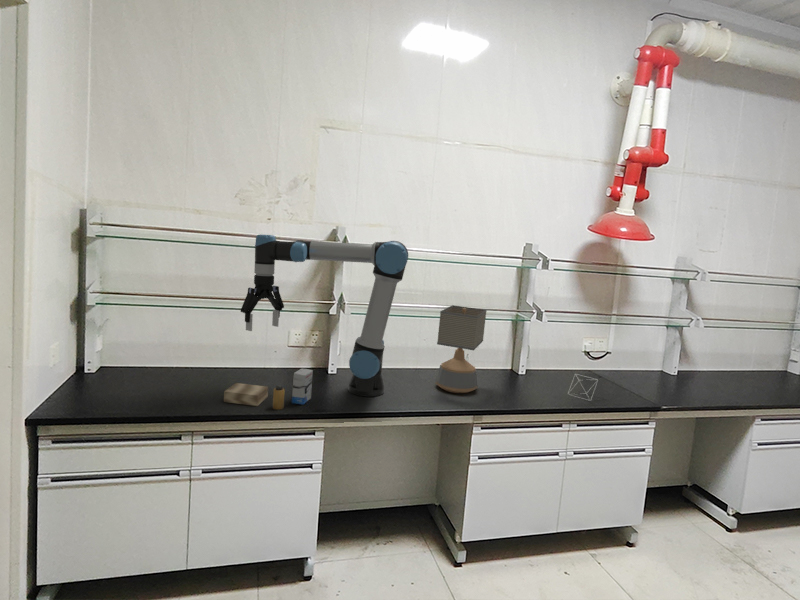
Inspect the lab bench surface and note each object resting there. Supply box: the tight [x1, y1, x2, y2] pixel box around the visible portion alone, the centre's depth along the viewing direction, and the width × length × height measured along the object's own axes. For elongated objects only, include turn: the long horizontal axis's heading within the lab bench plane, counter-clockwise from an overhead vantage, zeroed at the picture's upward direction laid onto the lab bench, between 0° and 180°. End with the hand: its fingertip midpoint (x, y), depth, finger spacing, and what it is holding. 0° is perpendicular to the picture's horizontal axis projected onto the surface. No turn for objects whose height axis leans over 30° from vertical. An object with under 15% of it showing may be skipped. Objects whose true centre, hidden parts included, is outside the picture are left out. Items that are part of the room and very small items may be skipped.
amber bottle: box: [272, 384, 285, 410], centre depth 199 cm, size 4×4×8 cm
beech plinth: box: [223, 382, 269, 407], centre depth 204 cm, size 13×11×4 cm
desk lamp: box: [435, 304, 487, 394], centre depth 239 cm, size 22×19×37 cm
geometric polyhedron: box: [567, 373, 599, 402], centre depth 247 cm, size 12×11×9 cm
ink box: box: [291, 368, 313, 405], centre depth 208 cm, size 8×5×12 cm, turn 168°
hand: (262, 328), depth 212 cm, fingers open, 13 cm apart
